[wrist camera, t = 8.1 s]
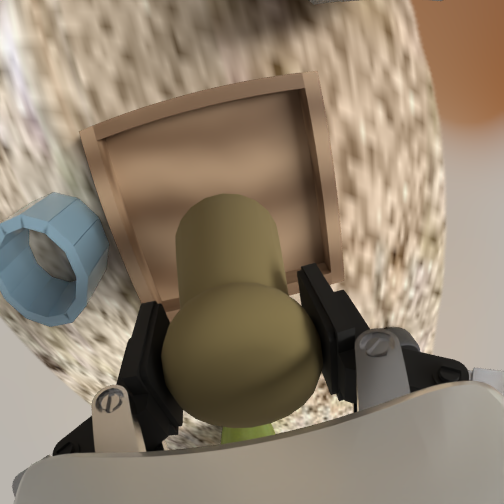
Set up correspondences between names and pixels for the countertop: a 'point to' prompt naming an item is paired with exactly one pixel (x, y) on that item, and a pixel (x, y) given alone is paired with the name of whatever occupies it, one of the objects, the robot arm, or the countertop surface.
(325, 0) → the grey lidded box
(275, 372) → the olive brown bulbous cylinder
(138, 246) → the tray
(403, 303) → the countertop surface
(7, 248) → the blue hollow cylinder
